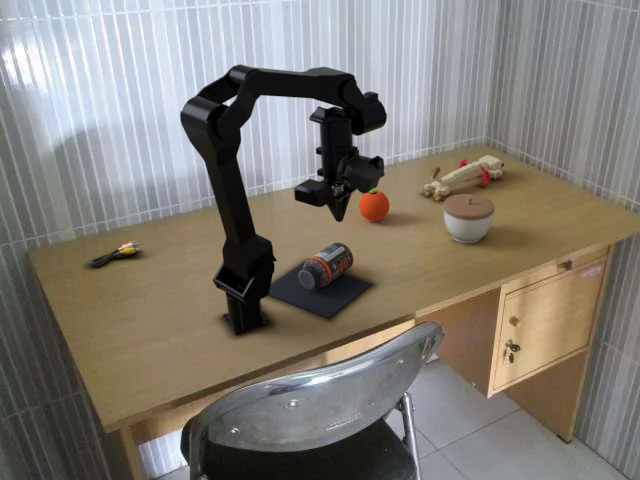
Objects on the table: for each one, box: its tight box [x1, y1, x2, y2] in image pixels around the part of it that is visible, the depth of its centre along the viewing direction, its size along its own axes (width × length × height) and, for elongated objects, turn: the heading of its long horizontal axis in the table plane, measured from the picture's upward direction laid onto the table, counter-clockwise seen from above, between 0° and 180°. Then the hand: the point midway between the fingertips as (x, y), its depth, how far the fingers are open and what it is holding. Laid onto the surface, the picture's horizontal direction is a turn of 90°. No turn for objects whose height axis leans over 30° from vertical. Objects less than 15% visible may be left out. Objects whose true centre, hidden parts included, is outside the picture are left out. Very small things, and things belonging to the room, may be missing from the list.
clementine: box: [358, 188, 390, 222], centre depth 153 cm, size 8×7×7 cm
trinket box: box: [443, 193, 495, 244], centre depth 145 cm, size 11×11×9 cm
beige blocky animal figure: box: [422, 155, 505, 202], centre depth 169 cm, size 10×9×25 cm
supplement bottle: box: [298, 241, 354, 289], centre depth 130 cm, size 6×6×11 cm
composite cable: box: [89, 240, 141, 267], centre depth 137 cm, size 10×5×2 cm, turn 123°
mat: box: [267, 260, 373, 320], centre depth 129 cm, size 14×16×1 cm
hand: (339, 221), depth 129 cm, fingers closed
